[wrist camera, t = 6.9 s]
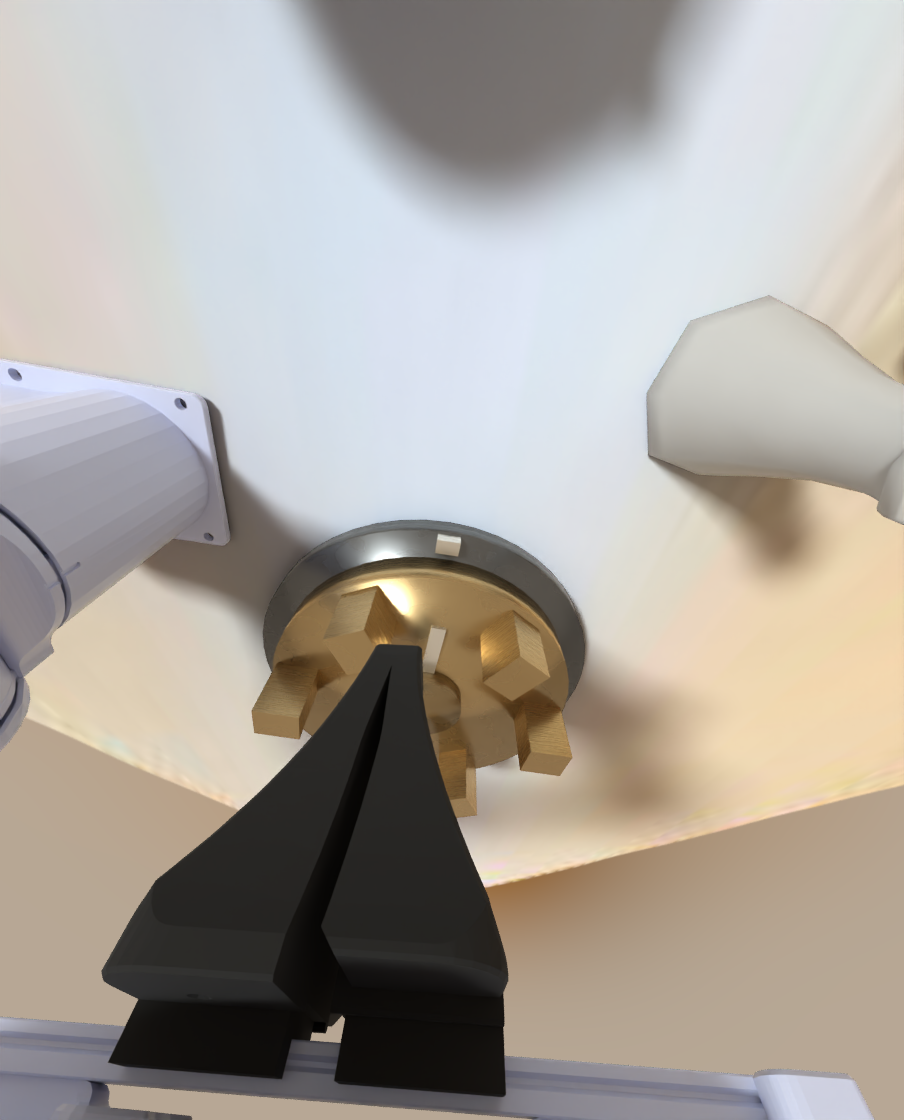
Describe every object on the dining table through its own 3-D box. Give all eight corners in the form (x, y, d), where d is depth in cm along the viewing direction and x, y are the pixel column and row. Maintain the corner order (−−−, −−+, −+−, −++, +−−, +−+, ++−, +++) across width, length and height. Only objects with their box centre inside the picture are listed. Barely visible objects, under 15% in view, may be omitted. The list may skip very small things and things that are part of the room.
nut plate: (283, 724, 31) (273, 746, 30) (253, 490, 20) (235, 505, 18) (529, 754, 33) (533, 777, 31) (633, 552, 21) (647, 571, 20)
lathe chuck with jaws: (514, 761, 31) (522, 834, 27) (289, 729, 29) (259, 801, 25) (609, 590, 21) (646, 662, 17) (280, 527, 20) (227, 589, 15)
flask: (768, 474, 19) (1010, 605, 11) (622, 470, 19) (748, 595, 11) (856, 298, 15) (1359, 281, 7) (672, 292, 15) (937, 269, 7)
